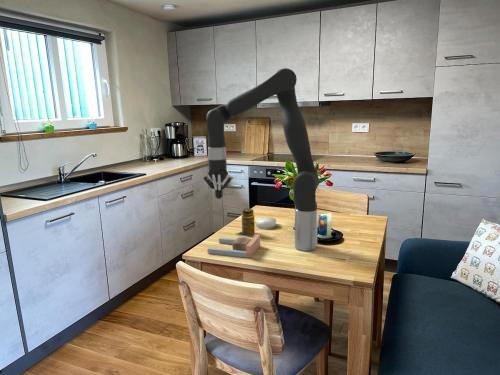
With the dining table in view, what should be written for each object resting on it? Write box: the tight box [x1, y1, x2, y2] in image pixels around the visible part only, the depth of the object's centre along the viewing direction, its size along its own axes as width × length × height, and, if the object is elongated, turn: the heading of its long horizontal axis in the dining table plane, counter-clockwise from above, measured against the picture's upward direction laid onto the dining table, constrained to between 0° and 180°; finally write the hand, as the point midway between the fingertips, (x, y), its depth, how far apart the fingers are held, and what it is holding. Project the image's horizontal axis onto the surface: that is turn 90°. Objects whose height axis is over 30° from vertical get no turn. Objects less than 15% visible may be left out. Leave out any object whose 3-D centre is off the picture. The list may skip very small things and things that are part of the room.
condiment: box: [235, 208, 258, 238], centre depth 178 cm, size 7×8×12 cm
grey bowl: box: [255, 216, 277, 230], centre depth 190 cm, size 10×10×3 cm
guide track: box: [207, 234, 261, 259], centre depth 160 cm, size 19×14×5 cm
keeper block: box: [232, 236, 252, 251], centre depth 161 cm, size 6×7×4 cm
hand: (219, 198), depth 159 cm, fingers closed
